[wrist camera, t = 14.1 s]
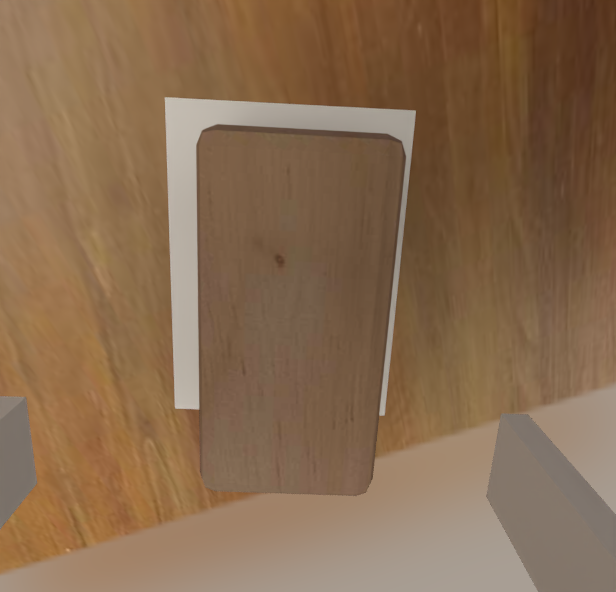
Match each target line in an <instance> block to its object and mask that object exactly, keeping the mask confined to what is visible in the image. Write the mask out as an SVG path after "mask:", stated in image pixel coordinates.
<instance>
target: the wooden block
mask: <svg viewBox="0 0 616 592" xmlns="http://www.w3.org/2000/svg"><path fill="white" fill-rule="evenodd" d="M405 164H406V154H405V151H404V147H403V144H402V141H401V140H399V139H397V138H395V137H393V136H391V135H389V134H385V133H368V132H350V131H332V130H314V129H296V128H278V127H260V126H242V125H225V124H216V125H214V126H211V127H208V128H206V129H203V130H202V132H201V134H200V137H199V139H198V142H197V144H196V177H197V261H198V344H199V428H200V473H201V476H202V479H203V482H204V485H205V487H206V488H209V489H211V490H214V491H227V492H257V493H287V494H288V493H289V494H290V493H291V494H318V495H348V496H357V495H360V494H363V493H366V491H367V489H368V487H369V485H370V483H371V480H372V478H373V469H374V460H375V450H376V441H377V431H378V421H379V412H380V402H381V393H382V383H383V374H384V364H385V355H386V345H387V335H388V326H389V316H390V307H391V297H392V288H393V278H394V269H395V259H396V249H397V240H398V230H399V221H400V211H401V202H402V192H403V183H404V173H405Z"/></svg>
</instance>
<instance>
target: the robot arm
mask: <svg viewBox="0 0 616 592" xmlns="http://www.w3.org/2000/svg"><path fill="white" fill-rule="evenodd" d="M36 484H37V479H36V471H35V463H34V456H33V448H32V440H31V432H30V425H29V417H28V409H27V401H26V397H6V396H0V529H1V528H2V526H3V525H4V524H5V523H6V521H7V520H8V519H9V518H10V516H11V515H12V514H13V513H14V511H15V510H16V509H17V508H18V506H19V505H20V504H21V503H22V501H23V500H24V499H25V498H26V496H27V495H28V494H29V493H30V491H31V490H32V489H33V488H34V486H35V485H36ZM487 499H488V500H489V502H490V504H491V506H492V508H493V509H494V511H495V513H496V515H497V517H498V519H499V521H500V522H501V524H502V526H503V528H504V530H505V532H506V533H507V535H508V537H509V539H510V541H511V542H512V544H513V546H514V548H515V550H516V552H517V554H518V555H519V557H520V559H521V561H522V563H523V565H524V567H525V568H526V570H527V572H528V574H529V576H530V578H531V579H532V581H533V583H534V585H535V587H536V588H537V590H538V592H616V514H615V513H614V512H613V511H612V510H611V509H610V507H609V506H608V505H607V504H606V503H605V502H604V501H603V500H602V498H601V497H600V496H599V495H598V494H597V493H596V491H595V490H594V489H593V488H592V487H591V486H590V485H589V484H588V482H587V481H586V480H585V479H584V478H583V477H582V476H581V474H580V473H579V472H578V471H577V470H576V469H575V468H574V466H573V465H572V464H571V463H570V462H569V461H568V460H567V458H566V457H565V456H564V455H563V454H562V453H561V452H560V450H559V449H558V448H557V447H556V446H555V445H554V444H553V443H552V441H551V440H550V439H549V438H548V437H547V436H546V434H545V433H544V432H543V431H542V430H541V429H540V428H539V427H538V425H537V424H536V423H535V422H534V421H533V420H532V418H530V416H529V415H526V414H501V417H500V423H499V429H498V435H497V440H496V445H495V452H494V457H493V462H492V468H491V473H490V479H489V485H488V490H487Z"/></svg>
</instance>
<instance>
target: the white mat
mask: <svg viewBox="0 0 616 592" xmlns="http://www.w3.org/2000/svg"><path fill="white" fill-rule="evenodd" d="M165 115H166V145H167V176H168V207H169V238H170V268H171V299H172V330H173V360H174V391H175V408H176V409H199V344H198V261H197V177H196V144H197V142H198V139H199V137H200V134H201V132H202V130H203V129H206V128H208V127H211V126H214V125H216V124H225V125H242V126H260V127H278V128H296V129H314V130H332V131H350V132H368V133H385V134H389V135H391V136H393V137H395V138H397V139H399V140H401V141H402V144H403V147H404V151H405V154H406V164H405V173H404V183H403V192H402V202H401V211H400V221H399V230H398V240H397V249H396V259H395V269H394V278H393V288H392V297H391V307H390V316H389V326H388V335H387V345H386V355H385V364H384V374H383V383H382V393H381V402H380V412H379V415H383V416H385V406H386V396H387V387H388V377H389V367H390V358H391V348H392V338H393V329H394V319H395V309H396V300H397V290H398V280H399V270H400V261H401V251H402V241H403V232H404V222H405V212H406V203H407V193H408V183H409V174H410V164H411V154H412V145H413V135H414V125H415V116H416V111H413V110H394V109H376V108H357V107H338V106H319V105H300V104H281V103H262V102H243V101H224V100H205V99H187V98H168V97H165Z"/></svg>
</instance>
